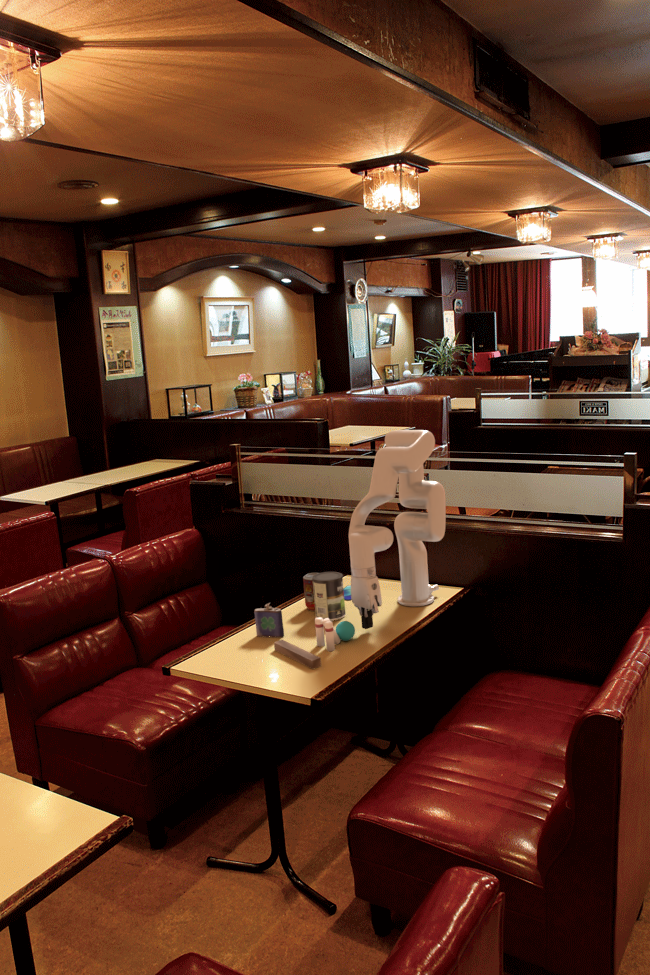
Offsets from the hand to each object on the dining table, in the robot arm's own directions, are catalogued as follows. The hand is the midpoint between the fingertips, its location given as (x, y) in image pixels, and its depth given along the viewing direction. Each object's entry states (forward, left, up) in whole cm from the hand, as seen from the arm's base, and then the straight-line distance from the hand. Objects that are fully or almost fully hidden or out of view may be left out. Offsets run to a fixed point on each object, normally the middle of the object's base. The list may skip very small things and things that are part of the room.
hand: (367, 627), depth 235 cm
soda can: (-2, -31, -2) cm, 31 cm away
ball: (+9, 0, +1) cm, 9 cm away
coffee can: (-1, -21, -2) cm, 21 cm away
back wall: (+27, 0, -2) cm, 27 cm away
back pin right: (+16, -3, -2) cm, 17 cm away
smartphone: (-20, -35, -2) cm, 40 cm away
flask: (+23, -21, -2) cm, 31 cm away
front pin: (+12, 0, -1) cm, 12 cm away
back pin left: (+16, +2, -2) cm, 17 cm away
